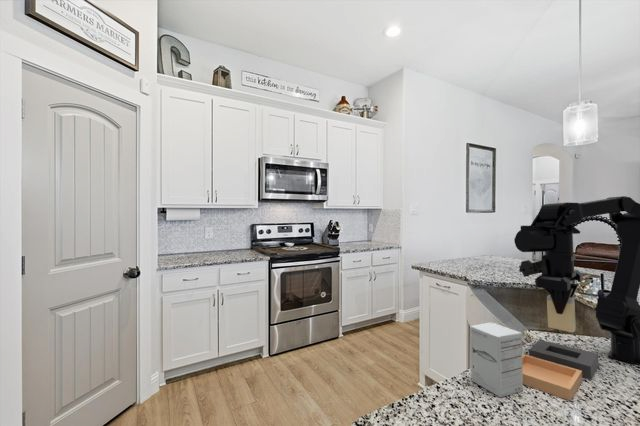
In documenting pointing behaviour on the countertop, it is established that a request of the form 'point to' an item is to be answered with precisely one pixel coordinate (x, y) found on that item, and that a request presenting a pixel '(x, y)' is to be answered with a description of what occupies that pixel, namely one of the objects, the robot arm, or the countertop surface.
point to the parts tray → (551, 377)
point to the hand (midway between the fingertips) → (561, 312)
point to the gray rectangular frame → (566, 357)
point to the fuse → (561, 316)
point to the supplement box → (496, 358)
